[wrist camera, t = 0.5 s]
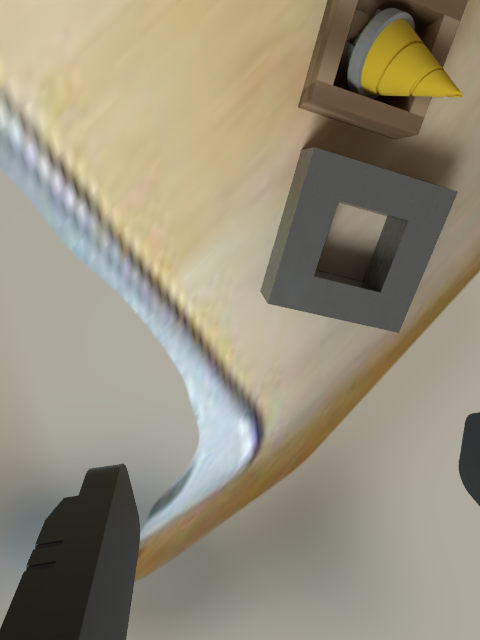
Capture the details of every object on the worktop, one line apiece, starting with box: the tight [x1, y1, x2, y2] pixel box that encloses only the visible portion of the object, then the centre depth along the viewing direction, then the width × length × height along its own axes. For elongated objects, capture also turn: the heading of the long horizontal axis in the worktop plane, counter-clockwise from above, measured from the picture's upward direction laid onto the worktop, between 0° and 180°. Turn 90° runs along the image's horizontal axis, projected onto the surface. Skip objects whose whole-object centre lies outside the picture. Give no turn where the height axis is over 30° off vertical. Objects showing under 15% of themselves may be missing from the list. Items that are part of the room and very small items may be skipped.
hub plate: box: [261, 147, 457, 333], centre depth 33 cm, size 12×12×4 cm
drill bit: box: [347, 8, 462, 100], centre depth 27 cm, size 5×5×10 cm
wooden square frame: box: [298, 0, 468, 139], centre depth 28 cm, size 8×8×4 cm
